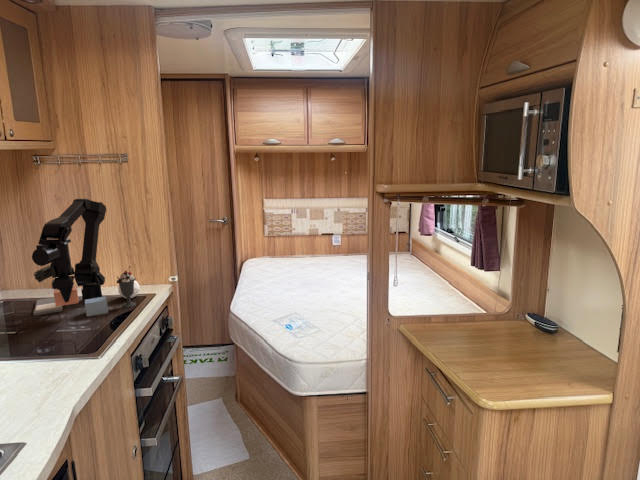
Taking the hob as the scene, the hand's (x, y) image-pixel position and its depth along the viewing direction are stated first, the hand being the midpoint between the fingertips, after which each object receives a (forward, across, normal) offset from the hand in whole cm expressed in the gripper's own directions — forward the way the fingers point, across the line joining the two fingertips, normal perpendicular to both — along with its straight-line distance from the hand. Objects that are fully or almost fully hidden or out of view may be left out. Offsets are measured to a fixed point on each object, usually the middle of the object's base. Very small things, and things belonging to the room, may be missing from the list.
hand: (67, 299), depth 159 cm
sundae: (+6, 0, +20) cm, 21 cm away
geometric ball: (+6, -9, +21) cm, 24 cm away
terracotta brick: (+1, 0, 0) cm, 1 cm away
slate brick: (+6, +2, +9) cm, 11 cm away
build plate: (+6, -14, -7) cm, 17 cm away
